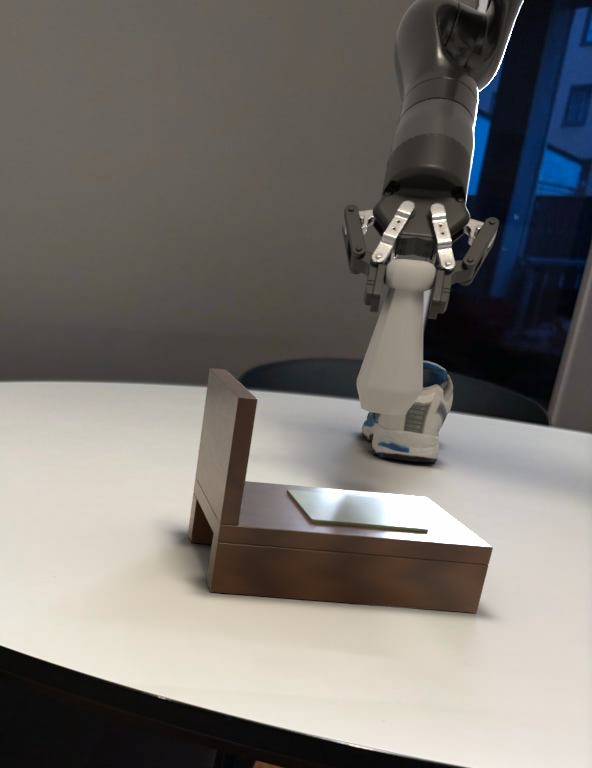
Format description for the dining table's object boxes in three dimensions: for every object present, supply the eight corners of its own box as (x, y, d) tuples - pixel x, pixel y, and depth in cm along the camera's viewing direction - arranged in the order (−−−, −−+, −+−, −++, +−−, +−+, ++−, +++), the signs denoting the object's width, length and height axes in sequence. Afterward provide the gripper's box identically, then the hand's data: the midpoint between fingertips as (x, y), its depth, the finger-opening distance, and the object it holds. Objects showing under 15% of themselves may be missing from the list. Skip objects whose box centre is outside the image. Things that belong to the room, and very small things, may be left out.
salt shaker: (348, 403, 95) (373, 256, 90) (409, 408, 95) (437, 262, 90) (358, 413, 90) (386, 257, 85) (423, 419, 90) (454, 264, 85)
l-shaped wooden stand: (414, 553, 79) (450, 391, 75) (476, 613, 67) (524, 423, 63) (187, 535, 78) (209, 367, 73) (210, 592, 66) (238, 396, 61)
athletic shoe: (431, 432, 134) (428, 339, 129) (471, 472, 113) (470, 363, 108) (353, 441, 135) (348, 350, 131) (379, 483, 114) (374, 376, 110)
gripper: (355, 125, 92) (324, 268, 85) (519, 137, 89) (500, 286, 83) (347, 191, 99) (318, 329, 92) (499, 205, 96) (480, 347, 89)
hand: (404, 308), depth 87 cm, fingers closed on salt shaker, 4 cm apart
